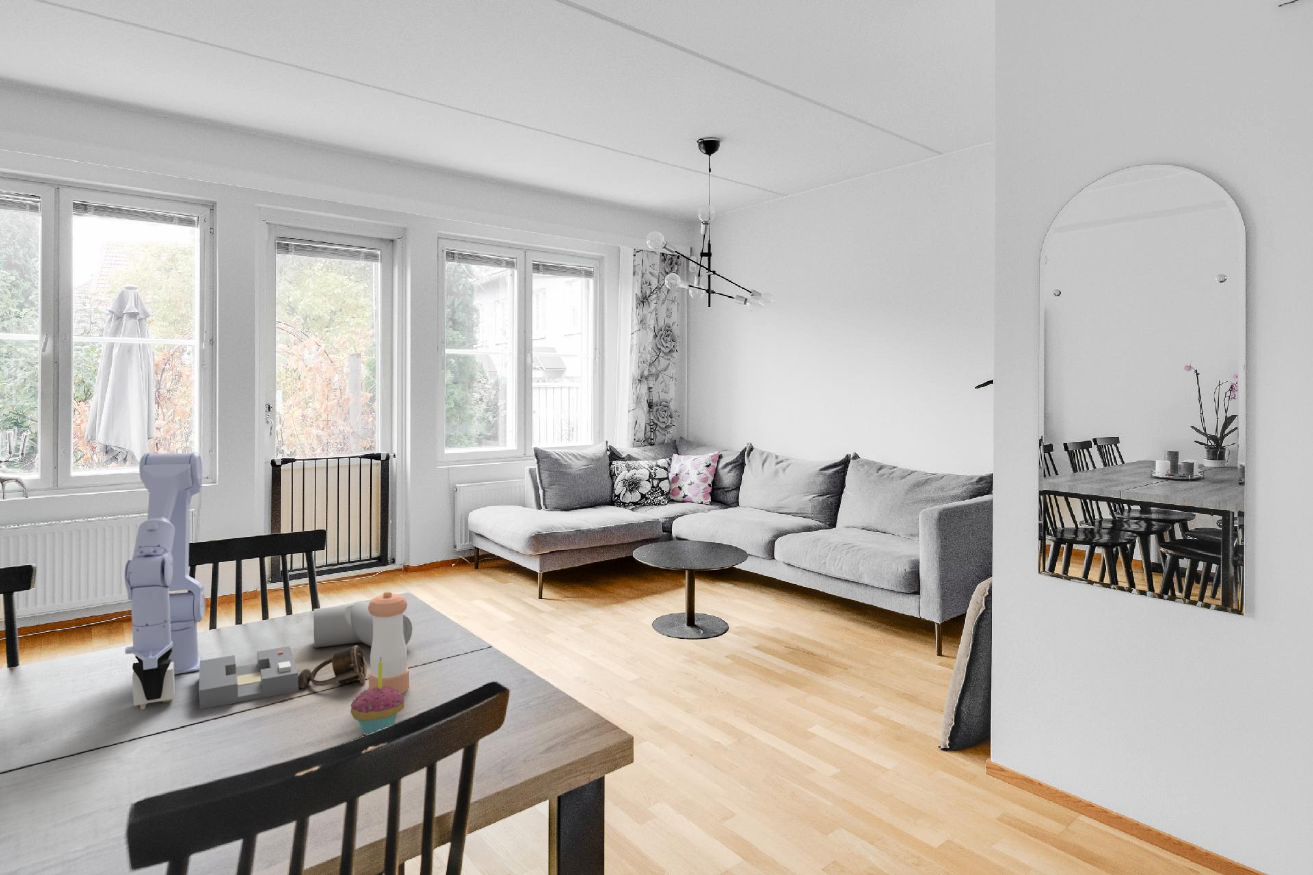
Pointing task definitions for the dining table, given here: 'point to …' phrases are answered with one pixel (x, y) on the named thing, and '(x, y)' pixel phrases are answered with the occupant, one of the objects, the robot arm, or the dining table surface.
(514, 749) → the dining table surface
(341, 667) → the bronze loop with drum
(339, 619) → the bent grey cylinder
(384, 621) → the pepper shaker
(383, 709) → the cupcake
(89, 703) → the dining table surface
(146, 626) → the robot arm
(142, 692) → the plug
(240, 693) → the socket board
